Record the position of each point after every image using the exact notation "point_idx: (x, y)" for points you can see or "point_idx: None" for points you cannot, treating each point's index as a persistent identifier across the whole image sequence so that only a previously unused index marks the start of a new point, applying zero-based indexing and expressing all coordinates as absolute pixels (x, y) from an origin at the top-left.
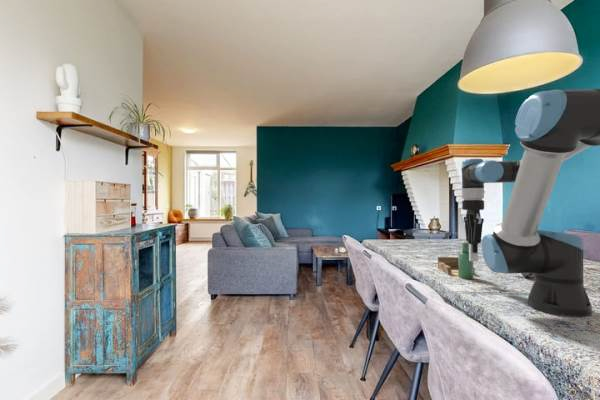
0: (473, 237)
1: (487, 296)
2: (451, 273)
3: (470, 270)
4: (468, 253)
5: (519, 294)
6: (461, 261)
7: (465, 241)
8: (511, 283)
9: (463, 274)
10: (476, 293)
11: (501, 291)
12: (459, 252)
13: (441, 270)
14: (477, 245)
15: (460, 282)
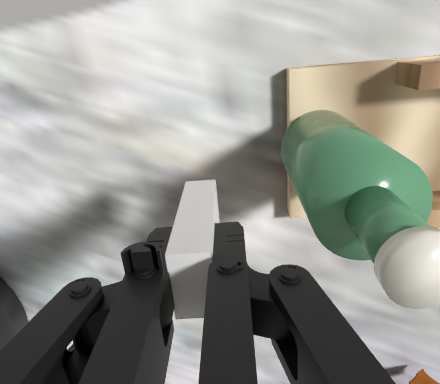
0: (56, 329)
1: (16, 148)
2: (430, 94)
3: (290, 179)
4: (347, 225)
5: (94, 275)
6: (320, 146)
7: (408, 270)
8: None
9: (292, 133)
10: (53, 116)
11: (123, 231)
12: (408, 168)
13: None
14: (176, 306)
15: (268, 102)
